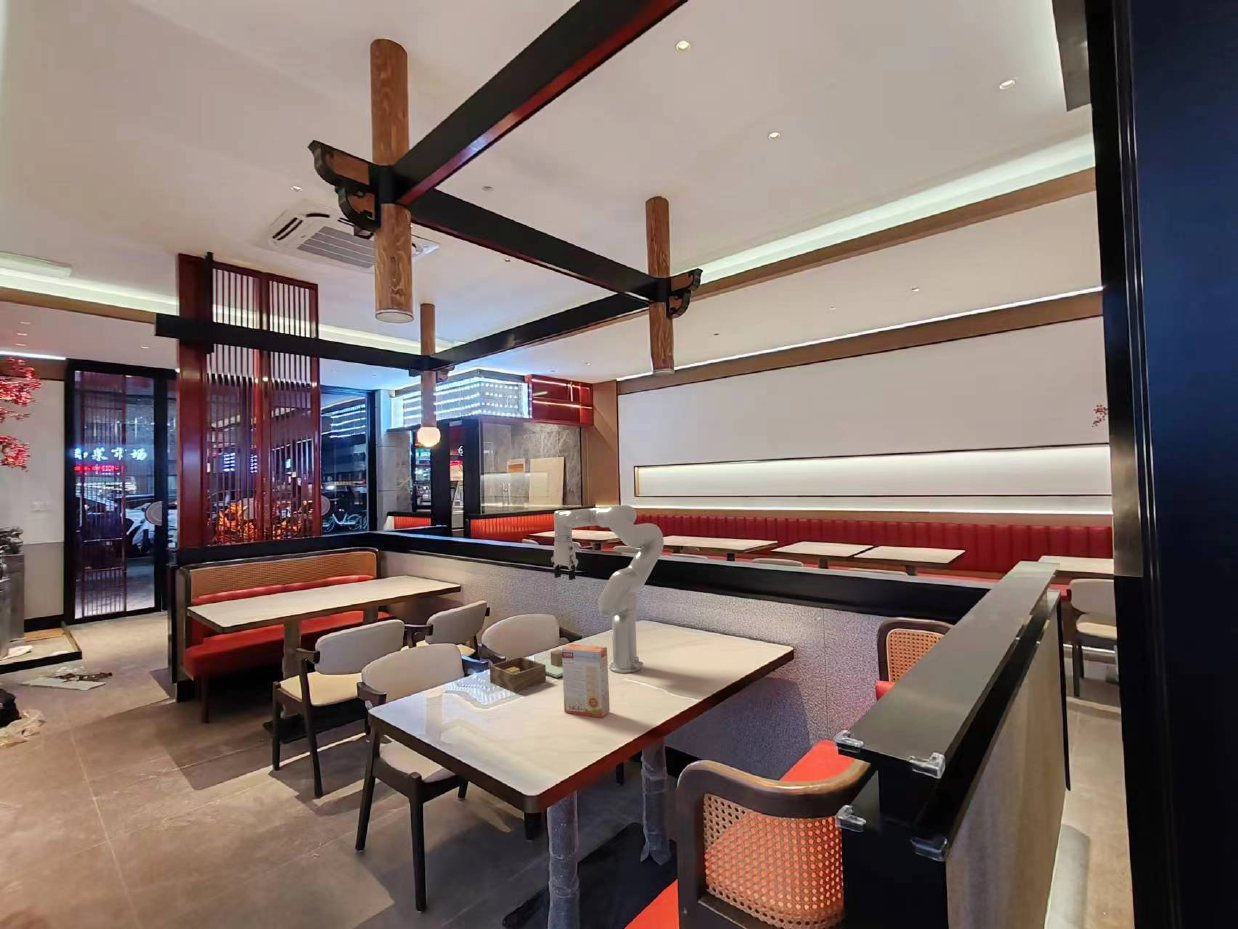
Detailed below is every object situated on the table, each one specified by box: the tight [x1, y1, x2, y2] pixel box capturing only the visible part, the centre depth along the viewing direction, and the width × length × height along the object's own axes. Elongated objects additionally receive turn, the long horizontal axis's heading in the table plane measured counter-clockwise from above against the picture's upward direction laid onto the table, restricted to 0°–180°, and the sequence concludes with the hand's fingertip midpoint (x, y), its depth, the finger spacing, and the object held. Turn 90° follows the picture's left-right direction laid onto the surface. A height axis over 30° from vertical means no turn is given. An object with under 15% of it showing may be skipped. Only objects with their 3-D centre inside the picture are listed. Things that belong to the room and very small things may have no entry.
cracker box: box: [561, 643, 611, 719], centre depth 180 cm, size 14×6×21 cm, turn 65°
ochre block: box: [505, 667, 520, 674], centre depth 210 cm, size 4×4×4 cm
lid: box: [538, 649, 563, 679], centre depth 221 cm, size 18×16×7 cm
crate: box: [489, 656, 547, 694], centre depth 207 cm, size 16×14×7 cm
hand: (564, 578), depth 239 cm, fingers open, 9 cm apart
